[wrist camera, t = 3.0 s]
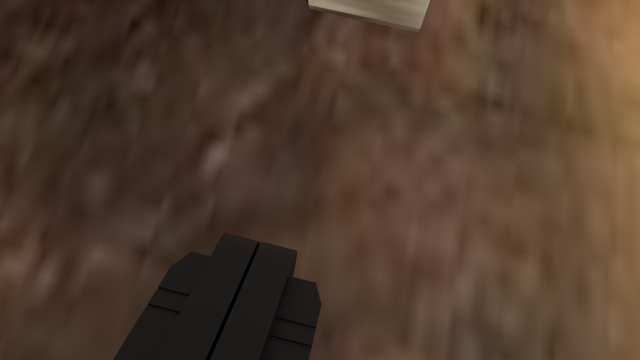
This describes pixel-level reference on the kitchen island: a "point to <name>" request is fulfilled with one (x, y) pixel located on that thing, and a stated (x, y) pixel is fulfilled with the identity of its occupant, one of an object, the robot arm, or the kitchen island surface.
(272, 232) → the kitchen island surface
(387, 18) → the birch block
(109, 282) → the kitchen island surface
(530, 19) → the kitchen island surface
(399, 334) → the kitchen island surface
